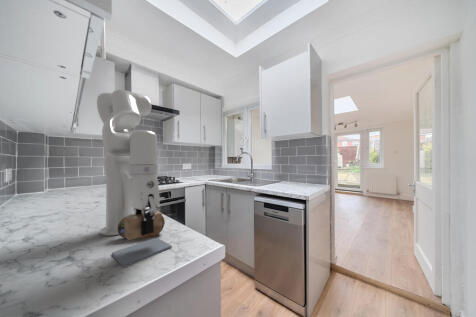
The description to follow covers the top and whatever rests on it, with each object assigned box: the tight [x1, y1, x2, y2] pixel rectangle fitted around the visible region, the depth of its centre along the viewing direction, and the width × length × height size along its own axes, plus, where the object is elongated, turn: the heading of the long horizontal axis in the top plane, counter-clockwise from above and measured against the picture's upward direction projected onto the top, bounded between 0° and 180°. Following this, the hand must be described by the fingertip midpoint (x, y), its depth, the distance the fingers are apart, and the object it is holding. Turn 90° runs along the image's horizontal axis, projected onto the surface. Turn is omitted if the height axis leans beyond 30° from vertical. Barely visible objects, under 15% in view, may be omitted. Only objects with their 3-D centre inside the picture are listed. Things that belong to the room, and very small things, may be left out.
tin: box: [118, 214, 166, 240], centre depth 62 cm, size 15×3×8 cm, turn 105°
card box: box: [124, 210, 163, 241], centre depth 51 cm, size 9×4×6 cm, turn 135°
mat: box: [111, 237, 172, 268], centre depth 51 cm, size 10×13×1 cm
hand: (143, 231), depth 51 cm, fingers closed on card box, 4 cm apart
